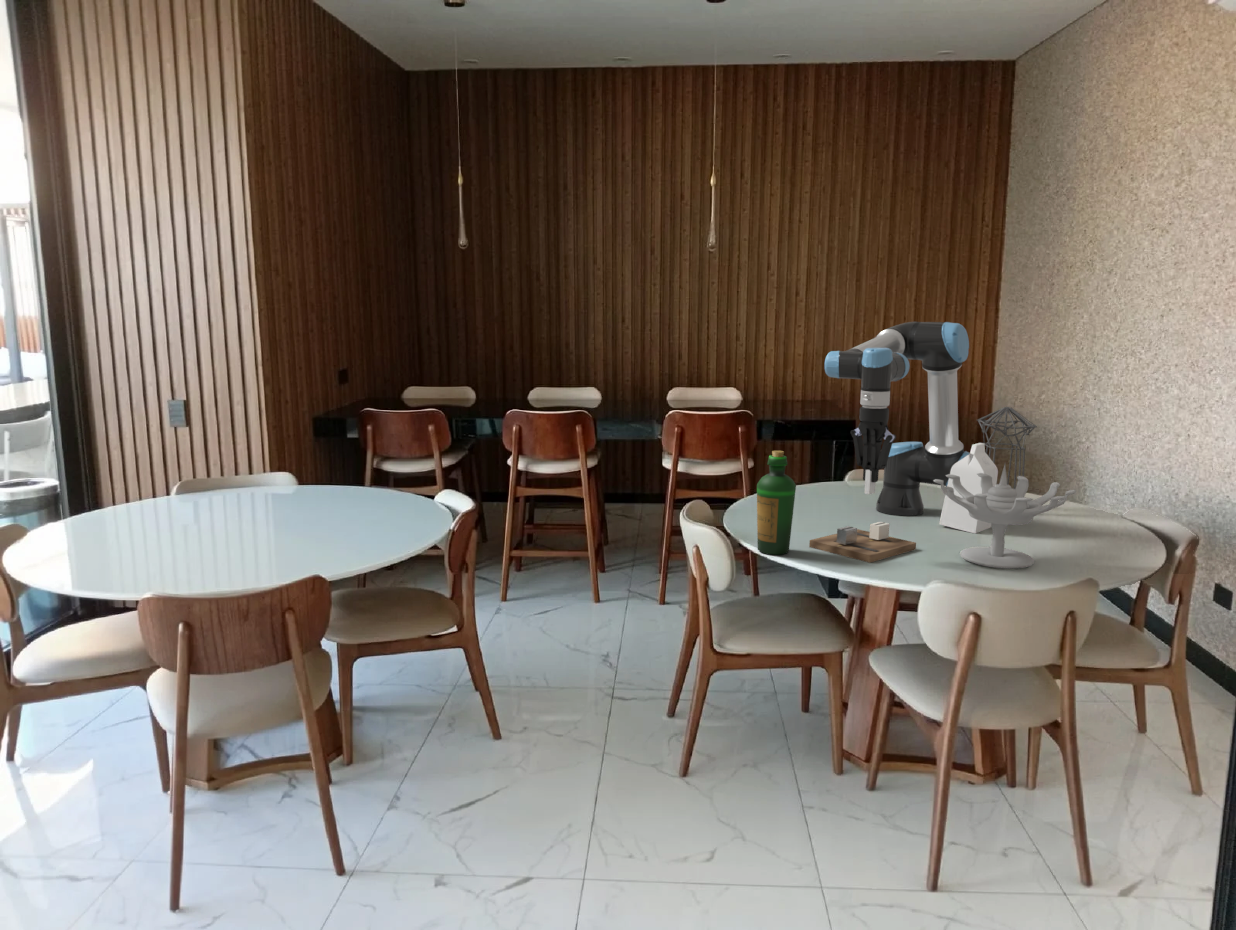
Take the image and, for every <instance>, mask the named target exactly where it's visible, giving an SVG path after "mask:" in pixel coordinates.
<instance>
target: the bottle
mask: <svg viewBox="0 0 1236 930" xmlns="http://www.w3.org/2000/svg"><path fill="white" fill-rule="evenodd" d="M784 454H785V451H783V450H772V451H771V454H769V456H768V459H767V463H766V464H767V465H768V468H769V473H766V474H765V475H763V476H762V477H760V479H759V480H758V482H757V484H756V517H757V518H756V522H757V524H756V526H757V533H756V534H757V536H756V537H757V550H758V551H760V552H761V553H762V554H765V555H770V556H771V555H772V556H780V555H785V554H787V553H789V551H790V545H791V544H790V543H791V535H792V524H793V517H794V508H795V499H796V490H797V485H796V483H795V481H794V479H793V478H792V477H790V476H789V475H787V474H785V472H786V471H785V470H786V466H788V465H789V464H788V459H787V458H788V456H786V455H784Z"/></svg>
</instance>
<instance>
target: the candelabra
mask: <svg viewBox="0 0 1236 930" xmlns="http://www.w3.org/2000/svg"><path fill="white" fill-rule="evenodd" d="M1006 468H1007V467H1006V463H1004V466H1003V469H1002V472H1001V476H1000V479H999V483H997V484H996V485H995V486H994V487H993V483H992V477H991V476H989V475H988V474H984V473H978V474H977V475H978V476H979V477H981V488H982V494H976V495H973V494H971V493H970V492H968V491H967V490H966V489H965V488H964V487H963V486H962V485H961V482H960V477H959V476H956V475H951V474H948V475H946V477H948V478H950V479H953V481H952V483H953V486H954V488H955V489H956V491H957V492H958V493H959V494H960V495H961V496H962V497H963V498H960V497H958V496H956V495H954V489H953V488H952V487H946V486H944V485H943V480H939V479H935V480H933V481H934V482H935V483H938V484H941V485H940V490H941V491H942V494H944V496H945V495H947V496H948V497H949V498H950V499H951V500H953V501H954V502H956V503H957V504H959V505H961V506H963V507H964V508H966V509H967V510H968V511H969V515H970V516H971V517H972V518H974V519H977V520H980V521H983V522H988V523H991V530H992V538H991V542H990V546H971V547H966V548H964V549H962V550H960V552H959V556H960V557H961V558H962V559H964V560H965V561H967V562H969V563H972V564H976V565H979V566H984V567H987V568H988V567H989V568H995V569H996V568H997V569H1011V570H1012V569H1023V568H1027V567H1028V568H1029V567H1031V566H1033V565H1034V564H1035V559H1034V557H1032V556H1031V555H1029V554H1028V553H1027V554H1026V553H1025V552H1023V551H1018V550H1015V549H1012V548H1011V549H1010V548H1005V544H1006V543H1005V534H1006V531H1007V529H1008V526H1020V525H1026V524H1029V523H1031V522H1032V521H1033V519H1034V517H1036V516H1037V515H1040V514H1044V513H1046V512H1047V513H1048V512H1049V511H1051V510H1054V509H1056V508H1058V507H1060V506H1062V505H1064V504H1065V503H1066V502H1067V501H1068V496H1071V495H1074V494H1076V493H1077V490H1075V489H1069V490H1066V491H1065V493H1064V495H1057V493H1058V488H1060V486H1061V483H1059V482H1057V481H1056V482H1055V481H1054V482H1052V483H1050V486H1049V490H1047V492H1045V493H1044V494H1042V496H1040V497H1038V498H1035V499H1034V498H1032V497H1025V496H1026V494H1027V492H1028V490H1029V479H1028V478H1027V477H1026V476H1024V477H1023V476H1022V475H1020V476H1019V475H1016V480H1017V481H1016V488H1015V490H1014V487H1013V488H1012V486H1011V485H1010V484H1009V485H1008V484H1007V480H1008V477H1007V470H1006ZM1056 495H1057V496H1056ZM1049 501H1050V502H1049ZM1048 502H1049V503H1048ZM1047 503H1048V504H1047Z"/></svg>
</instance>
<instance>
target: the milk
mask: <svg viewBox="0 0 1236 930" xmlns="http://www.w3.org/2000/svg"><path fill="white" fill-rule="evenodd" d="M985 448H986V445H985V444H984V442H978V443H975V444H974V443H973V444H971V448H970V452H969V453H970V454H969V455H967V456H966V457H964V458H963V459H961V460H960V461H958V462H957V463H955V464H954V465H953V466H952V468H951V471H950V474H951V475H956V476H959V477H960V482H961V485H962V486H963V487H964V488H965V489H966V490H967V491H968V492H970V493H971V494H973V495H976V494H982V488H981V477H979V476H978V475H977V474H978V473H984V474H988V475H989V476H991V477H992V483H993V487H994V486H995V485H996V484H998V474H999V470H998V467H997V465H996V464H994V463H993V459H992V458H991V457H990V458H989V454H988V453H987V454H986V449H985ZM952 481H953V479H950V478H949V480H948V485H947V487H952V488H953V489H954V495H956V496H958V497H960V498H963V497H962V496H961V495H960V494H959V493H958V492H957V491H956V489H955V488H954V486H953V483H952ZM938 525H941V526H945V527H948V528H952V529H956V530H959V531H964V532H967V533H972V534H978V533H979V532H983V531H985V530H988V529H990V528H992V526H991V523H988V522H983V521H980V520H977V519H974V518H972V517H971V516H970V515H969V511H968V510H967V509H966V508H964V507H963V506H961V505H959V504H957V503H956V502H954V501H953V500H951V499H950V498H949V497H948V496H947V495H945V494H944V499H943V504H942V508H941V514H940V519H939V523H938Z"/></svg>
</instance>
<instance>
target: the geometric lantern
mask: <svg viewBox="0 0 1236 930" xmlns="http://www.w3.org/2000/svg"><path fill="white" fill-rule="evenodd" d="M1004 415H1005V417H1004V421H1000V420H1001V418H1003V416H1004ZM1008 416H1009V419H1010V420H1008ZM1012 416H1013V417H1012ZM987 418H988V419H987ZM1013 418H1014V419H1015V420H1014V419H1013ZM976 421H977V423H978V424H979V426H980V428H981V432H982V434H983V435H982V438H983V439H982V441H983V443H984V444H985V448H986V449H985V453H986V454H987V455H988V456H989V458H990V459H991V453H992V450H993V457H992V461H993V463H994V464H995V463H996V462H995V461H996V450H1010V457H1009V464H1008V473H1007V484H1008V485H1010V478H1011V477H1010V476H1011V470H1012V469H1011V468H1012V461H1013V452H1014V450H1015V456H1014V457H1015V459H1014V476H1013V477H1014V478H1013V481H1014V482H1013V489H1014V490H1015V488H1016V485H1017V467H1018V476H1023V477H1025V467H1026V466H1025V464H1026V463H1025V461H1026V447H1025V445H1024V444H1025V440H1026V436H1030V433H1031V432H1032V431H1034V429H1035V428H1038V425H1035V424H1034V423H1033V422H1032V421H1030V420H1029V419H1028V418H1026V417H1024V416H1023V415H1022V414H1021V413H1019V412H1018V411H1017V410H1015V409H1014V408H1013V407H1009V406H1004V407H1002V408H1000V409H997V410H996V411H994V412H991V413H989V414H987V415H985V416H982V417H980V418H978V419H976ZM993 423H994V424H993ZM1008 423H1009V424H1011V425H1009V426H1007V424H1008ZM1017 423H1021V426H1016V424H1017ZM1002 424H1004V425H1002ZM1000 427H1001V428H1000ZM989 428H991V429H993V432H992V433H991V435H990V437H989V436H988V435H989V434H988V433H987V432H988V430H989ZM1002 428H1003V429H1002ZM1009 429H1014V434H1008V431H1007V430H1009ZM1019 429H1022V430H1020V431H1019V432H1017V431H1016V430H1019ZM997 431H998V432H1000V433H1002V434H1003V435H1002V437H1001V438H1000V439H999V440H998V441H997V442H990V441H991V440H992V438H993V436H994V434H995V433H996V432H997ZM1022 433H1023V434H1022ZM1020 434H1021V436H1020V438H1019V439H1018V435H1020ZM985 437H986V440H987V442H986V441H985ZM1005 437H1007V439H1008V441H1010V443H1003V442H1002V443H1001V441H1002V440H1003V439H1004V438H1005ZM1010 437H1015V439H1016V442H1017V443H1013V442H1012V441H1011V439H1010ZM1022 439H1023V442H1022V445H1021V444H1020V443H1021V441H1022ZM992 445H994V446H992ZM997 445H1004V446H1005V445H1008V446H1011V448H1010V447H1009V448H1008V447H996V446H997ZM1014 447H1015V448H1014ZM1018 447H1019V448H1018ZM988 451H989V452H988ZM1018 451H1019V452H1018ZM1022 451H1023V452H1022ZM1018 453H1019V454H1018ZM1018 459H1019V460H1018ZM995 465H996V464H995ZM1017 465H1018V466H1017ZM1021 467H1022V468H1021ZM1021 469H1022V470H1021ZM1021 473H1022V475H1021Z"/></svg>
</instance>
